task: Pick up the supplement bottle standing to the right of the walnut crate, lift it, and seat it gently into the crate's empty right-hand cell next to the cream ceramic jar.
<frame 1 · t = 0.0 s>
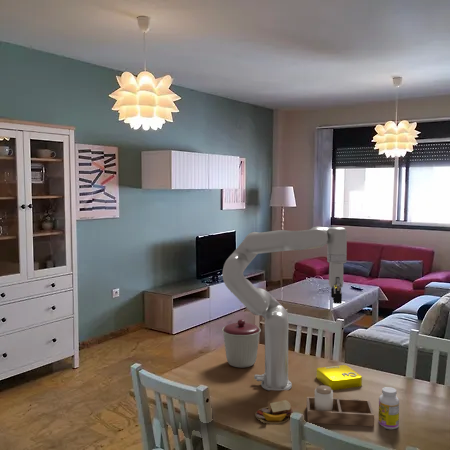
hand: (336, 300, 195), 37 cm above the table, tool pointing down, fingers open, 9 cm apart
crate: (338, 418, 173), on the table
jar: (323, 415, 173), point 1 cm above the table, touching crate
supplement bottle: (388, 426, 167), on the table
toy sandwich meal: (274, 417, 174), on the table
element tile: (338, 382, 205), on the table
canister: (241, 364, 226), on the table
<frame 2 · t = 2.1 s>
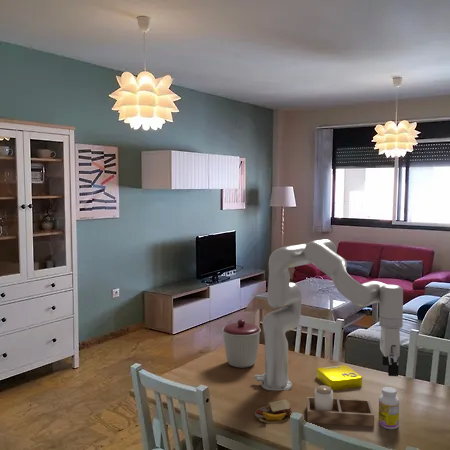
hand: (390, 370, 166), 20 cm above the table, tool pointing down, fingers open, 9 cm apart
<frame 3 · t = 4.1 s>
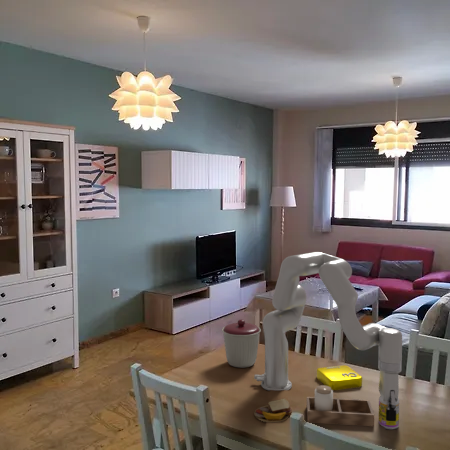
hand: (388, 415, 167), 4 cm above the table, tool pointing down, fingers closed on supplement bottle, 6 cm apart
supplement bottle: (388, 425, 167), on the table, touching gripper
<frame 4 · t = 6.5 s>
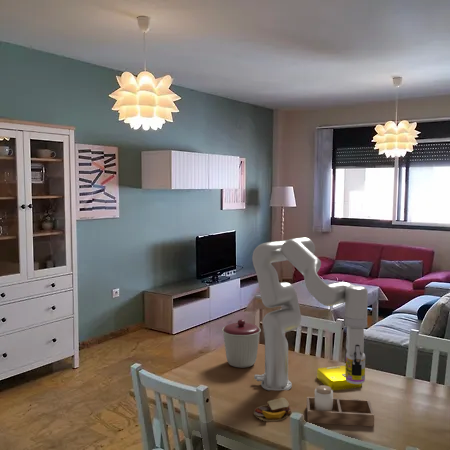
hand: (355, 370, 170), 18 cm above the table, tool pointing down, fingers closed on supplement bottle, 6 cm apart
supplement bottle: (355, 381, 171), point 14 cm above the table, touching gripper
when the fingers open (7 cm above the table, at t = 9.3 s): supplement bottle drops 2 cm, resting on crate.
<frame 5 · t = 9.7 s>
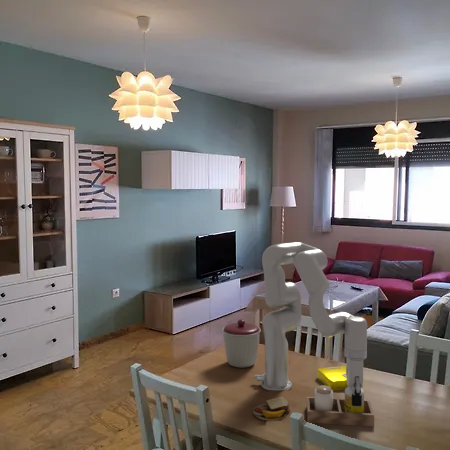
hand: (354, 399, 171), 7 cm above the table, tool pointing down, fingers open, 9 cm apart
supplement bottle: (354, 417, 172), point 1 cm above the table, touching crate
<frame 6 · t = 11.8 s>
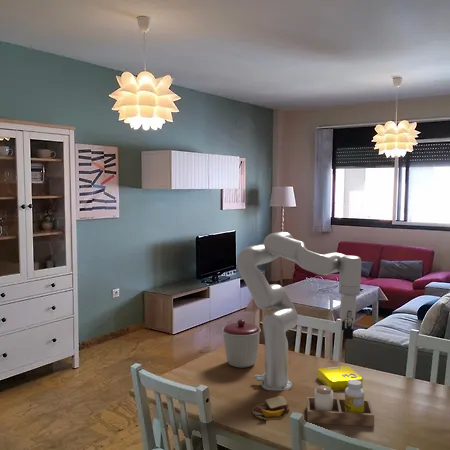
hand: (347, 334, 180), 28 cm above the table, tool pointing down, fingers open, 9 cm apart
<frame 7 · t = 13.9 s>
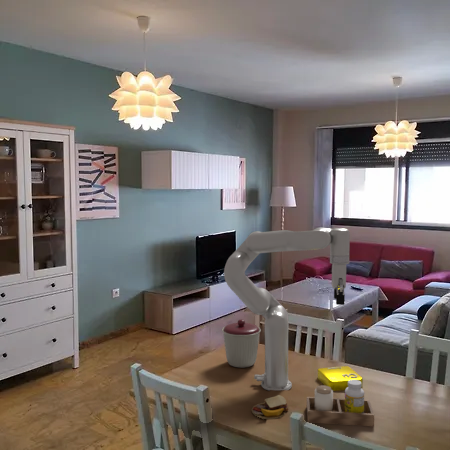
hand: (339, 301, 195), 36 cm above the table, tool pointing down, fingers open, 9 cm apart
at the end: supplement bottle 0.1 cm from the target spot on the crate, point 0.6 cm above the crate's base; supplement bottle tilted 0°; the gripper is holding nothing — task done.
